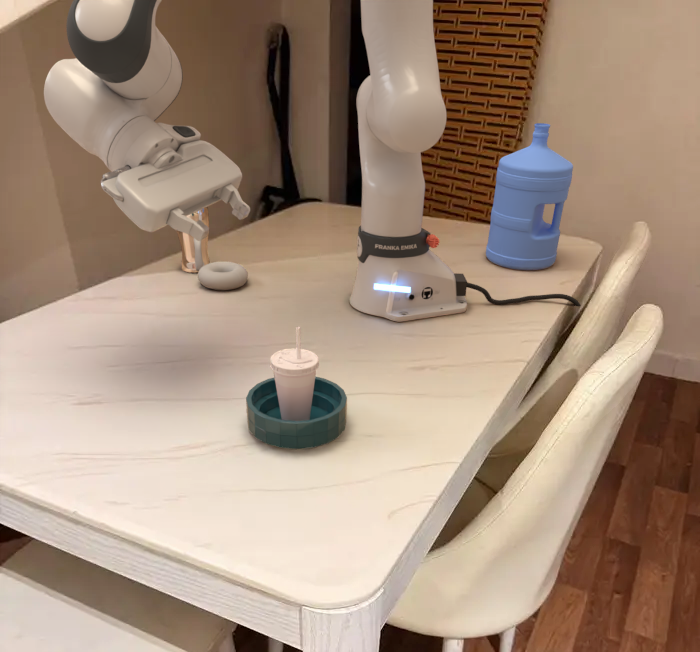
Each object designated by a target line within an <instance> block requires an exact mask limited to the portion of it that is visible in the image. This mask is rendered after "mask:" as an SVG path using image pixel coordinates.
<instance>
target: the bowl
mask: <svg viewBox="0 0 700 652" xmlns="http://www.w3.org/2000/svg"><path fill="white" fill-rule="evenodd" d="M245 404H246V420H247V427H248V431H249V432H250V433H251V434H252V436H254V438H255V439H257V440H258V441H260V442H262V443H264V444H266V445H268V446H272V447H276V448H280V449H291V450H301V449H302V450H304V449H313V448H316V447H320V446H324V445H327V444H329V443H331V442H333V441H335V440H337V439H338V438H339V437H340V436H341V435H342V434H343V433H344V432H345V430H346V426H347V413H348V412H347V411H348V396H347V394H346V392H345V389H343V388H342V387H341V386H340V385H339V384H337V383H336V382H334V381H332V380H329V379H327V378H324V377H319V376H315V383H314V390H313V398H312V405H311V412H310V420H302V421H291V420H282V418H281V413H280V407H279V401H278V395H277V389H276V383H275V378H274V377H270V378H267V379H264V380H262V381H260V382H258V383H257V384H255V385H254V386H253V387H251V389H249V391H248V393H247V395H246V397H245Z"/></svg>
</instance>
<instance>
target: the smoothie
mask: <svg viewBox="0 0 700 652" xmlns="http://www.w3.org/2000/svg"><path fill="white" fill-rule="evenodd" d="M301 329H302V328H301V326H295V340H296V341H295V343H296V346H295V348H285V349H281V350H278V351H276V352H274V353H273V354H271V356H270V360H269V361H270V362H269V363H270V364H269V366H270V369H271V370H272V372H273V378H275V383H276V389H277V395H278V401H279V407H280V413H281V418H282V420H291V421H302V420H310V412H311V405H312V398H313V390H314V383H315V376H316V374H317V370H318V369H319V367H320V358H319V356H318V355H317V354H316V353H315V352H314V351H311V350H308V349H306V348H305V349H304V348H302V341H301V340H302V339H301V338H302V335H301V333H302V332H301V331H302V330H301ZM316 377H317V376H316Z"/></svg>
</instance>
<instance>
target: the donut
mask: <svg viewBox="0 0 700 652" xmlns="http://www.w3.org/2000/svg"><path fill="white" fill-rule="evenodd" d="M248 279H249V272H248V270H247V269H246V268H245V266H243V265H242V264H240V263H238V262H233V261H222V260H221V261H213V262H210V263H209V264H206V265H204V266H203V267H201V268H200V270H199V272H198V273H197V280H198V281H199V283H200V284H201V285H202V286H204V287H205V288H208V289H210V290H216V291H227V290H228V291H229V290H234V289H238V288H240V287H242V286H244V284H246V283H247V282H248Z"/></svg>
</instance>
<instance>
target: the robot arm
mask: <svg viewBox="0 0 700 652" xmlns="http://www.w3.org/2000/svg"><path fill="white" fill-rule="evenodd" d="M162 1H163V0H72V2H71V4H70V6H69V9H68V13H67V17H66V28H65V29H66V37H67V42H68V45H69V48H70V50H71V52H72V53H73V55H74V57H75V58H63V59H60V60H58V61H57V62H55V63H54V64H53V65H52V66H51V68H50V70H48V73H47V76H46V78H45V82H44V86H43V87H44V88H43V99H44V103H45V107H46V109H47V111H48V113H49V115H50V116H51V117H52V119H53V120H54V122H55V123H56V124H57V126H59V127H60V128H61V129H62V130H63V131H64V132H65V134H67V135H68V136H69V138H71V139H72V140H73V141H74V142H75V143H76V144H78V145H79V146H80V148H82V149H83V150H85V151H86V152H87V153H89V154H90V155H93V156H95V157H97V158H98V159H100V160H101V161H102V162H103V163H104V165H105V167H106V168H107V169H108V170H109V171H108V172H105V173H104V174H102V176H101V179H100V186H101V189H102V191H103V192H105V193H106V194H107V195H108V196H110V197H111V198H113V201H114V203H115V204H116V206H117V207H118V208H119V209H120V210H121V212H122V213H123V214H124V215H125V216H126V217H127V218H128V219H129V220H130V221H131V222H132V223H134V225H135V226H137V227H138V228H139V229H140V230H143V231H145V232H149V233H154V232H156V231H158V230H160V229H162V228H165V227H167V226H169V227H170V228H171V229H173V230H175V231H177V230H178V231H181V232H184V233H187V234H190V235H191V236H192V237H194V238H195V239H196V240H197V241H201V240H202V239H204V238H206V237H207V236H208V237H209V234H208V233H210V226H209V227H208V226H207V225H204V223H203V222H202V221H201V220H199V221H197V222H196V221H194V220H192V219H190V218H188V217H186V216H188V215H190V214H193V213H195V212H197V211H199V210H201V209H203V208H206V207H208V208H209V207H210V206H212V205H214V204H216V203H218V202H221V201H223V202H224V203H225V204H229V205H230V207H231V208H232V211H231V214H232V215H233V216H234V217H236V219H238V220H239V221H242V220H244V219H245V218H248V216H249V214H250V212H251V207H250V205H248V204H247V203H246V202H245V201H243V199H242V197H241V195H240V192H239V190H238V189H239V187H240V185H241V182H242V180H243V173H242V171H241V169H240V167H239V166H238V164H236V163H235V162H234V161H233V160H232V159H231V158H229V157H228V156H227V155H226V154H225V153H224V152H222V150H220V149H219V148H217V147H216V146H215V145H213V144H212V143H211V142H208V141H205V140H201V137H202V134H201V133H200V131H199V130H197V129H196V127H193V126H191V125H174V124H168V123H164V122H156V121H157V119H158V118H160V117H161V116H162V115H163V114H164V113H165V112H166V110H167V109H168V108H169V107H170V106H171V105H172V104H173V103H174V101H176V99H177V98H178V96H179V94H180V92H181V89H182V85H183V80H184V79H183V78H184V77H183V67H182V63H181V61H180V58H179V57H178V55H177V53H176V52H175V51H174V49H173V47H172V46H171V45H170V43H169V41H168V40H167V39H166V37H165V36H164V34H162V32H161V31H160V29H158V27H157V25H156V17H157V16H156V15H157V11H158V7H159V6H160V4H161V2H162ZM360 18H361V19H360V20H361V33H362V36H363V40H364V45H365V50H366V56H367V61H368V67H369V74H370V75H368V76H367V77H366V78H365V79H364V80H363V81H362V83H361V84H360V85H359V88H358V90H357V94H356V103H355V106H356V111H357V123H358V124H357V129H358V145H359V157H360V168H361V206H360V207H361V208H360V209H361V212H360V225H359V226H358V230H357V231H358V232H357V236H356V256H357V259H358V260H357V267H356V274H355V279H354V282H353V283H354V284H353V288H352V291H351V295H350V297H349V300H348V301H349V304H350V306H351V307H353V308H354V309H355V310H357V311H359V312H362V313H364V314H368V315H371V316H376V317H381V318H384V319H387V320H390V321H393V322H398V323H401V322H409V321H415V320H421V319H428V318H435V317H441V316H449V315H455V314H461V313H465V312H466V311H467V309H468V301H467V299H466V294H467V288H468V289H472V290H475V291H478V292H480V293H482V294H483V296H484V297H485V299H486V300H487V302H489V303H490V304H492V305H496V306H504V305H505V306H506V305H512V304H519V303H523V302H528V301H529V302H530V301H543V300H552V299H553V300H555V299H556V300H557V299H559V300H565V301H568V302H570V303H572V305H574V307H581V306H582V305H581V304H580V302H579V301H578V300H577V299H576V298H574V297H573V296H571V295H568V294H565V293H549V294H537V295H535V294H534V295H525V296H521V297H517V298H507V299H494V298H493V297H492V296H491V294H490V293H489V292H488V289H485V288H484V287H482V286H480V285H478V284H474V283H471V282H468V281H467V279H466V277H465V274H464V273H457V272H456V273H454V271H453V269H452V268H451V267H450V266H449V265H448V264H447V263H446V262H444V261H443V260H442V259H441V257H439V256H438V255H437V254H436V253H434V251H432V250H431V249H436V248H438V246H439V245H440V239H439V237H437V236H436V235H435V234H433V233H431V232H429V231H428V230H426V229H425V228H423V217H424V207H425V206H424V205H425V194H426V180H425V177H424V171H423V164H422V154H421V153H423V152H426V151H428V150H430V149H431V148H432V147H434V146H435V145H436V144H437V143H438V142H439V140H440V139H441V137H442V135H443V133H444V131H445V128H446V125H447V117H448V116H447V108H446V105H445V102H444V98H443V96H442V90H441V81H440V80H441V79H440V71H439V63H438V55H437V49H436V48H437V47H436V42H435V32H434V0H360ZM430 248H431V249H430Z"/></svg>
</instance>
